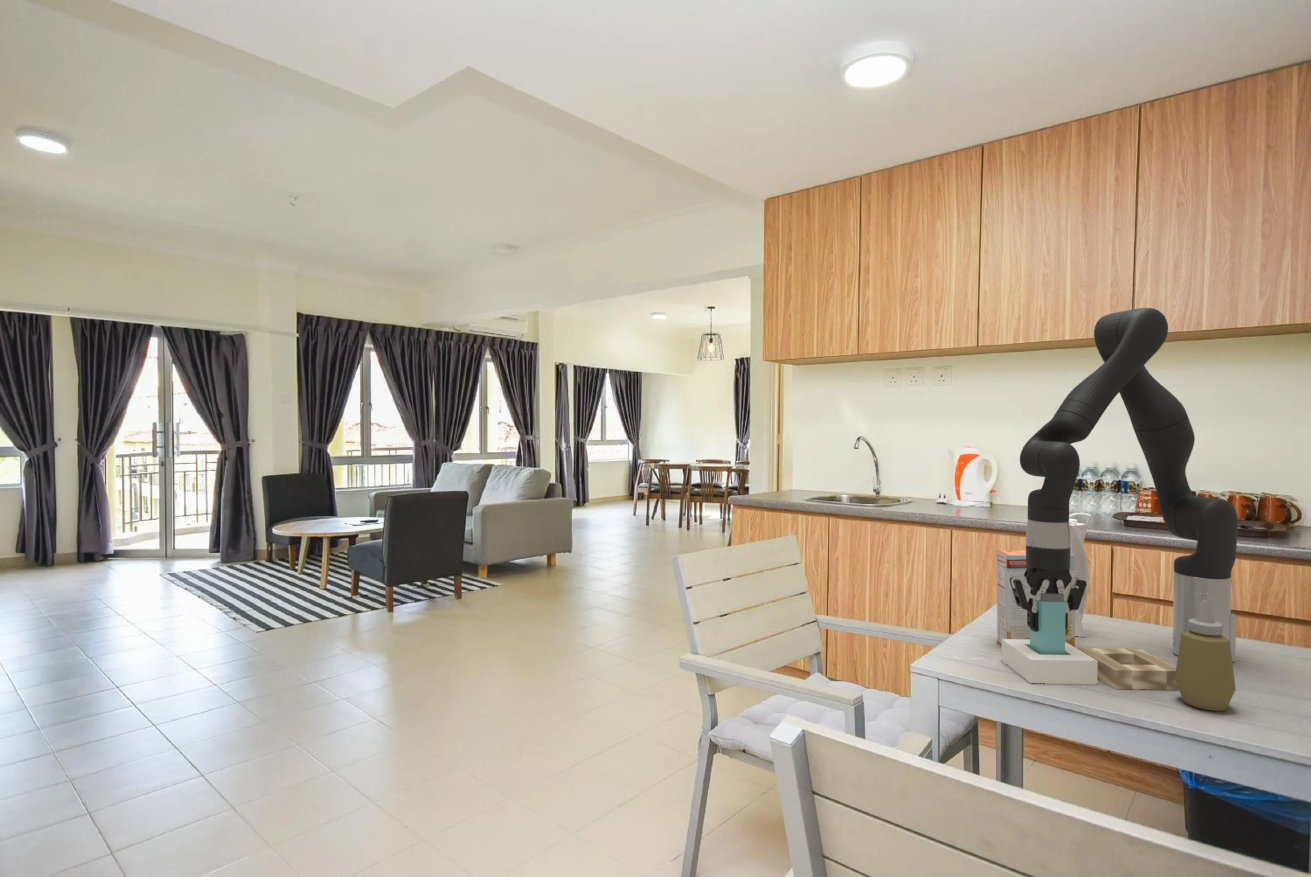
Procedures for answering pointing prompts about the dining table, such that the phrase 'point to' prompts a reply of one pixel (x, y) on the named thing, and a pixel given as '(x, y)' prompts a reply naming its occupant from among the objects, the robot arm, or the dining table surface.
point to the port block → (1049, 664)
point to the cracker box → (1008, 611)
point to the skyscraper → (1079, 566)
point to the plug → (1050, 626)
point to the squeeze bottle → (1205, 663)
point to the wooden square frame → (1132, 669)
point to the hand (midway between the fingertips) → (1047, 630)
